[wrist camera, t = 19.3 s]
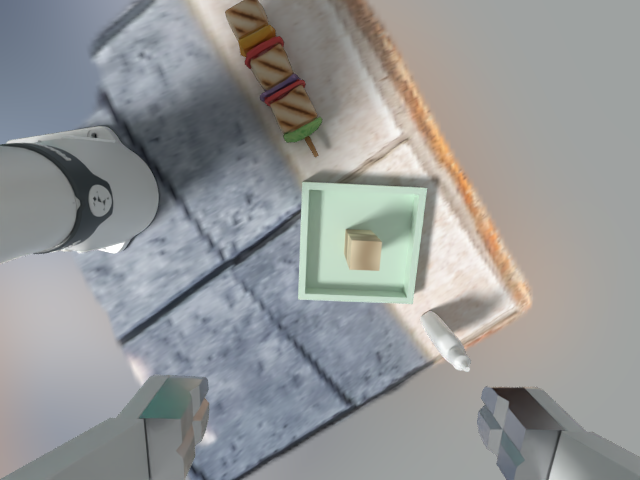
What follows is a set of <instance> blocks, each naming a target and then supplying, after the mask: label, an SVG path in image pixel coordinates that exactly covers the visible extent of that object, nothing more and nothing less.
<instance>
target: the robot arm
mask: <svg viewBox="0 0 640 480" xmlns="http://www.w3.org/2000/svg"><path fill="white" fill-rule="evenodd" d="M95 134H97V138H95ZM158 202H159V194H158V187H157V183H156V180H155V178H154V176H153V174H152V172H151V170H150V169H149V167H148V166H147V164H146V163H145V162H144V161H143V160H142V159H141V158H140V157H139V156H138V155H137V154H135V153H134V152H132V151H131V150H130V149H128V148H127V147H125V146H124V145H123V144H122V143H121V141H120V140H119V138H118V137H117V136H116V134H115V133H114V132H113V131H112V130H111V129H110V128H108V127H105V126H97V127H90V128H84V129H77V130H71V131H65V132H58V133H52V134H45V135H39V136H33V137H27V138H20V139H14V140H10V141H8V142H7V143H6V144H2V145H0V264H3V263H6V262H9V261H11V260H14V259H17V258H20V257H23V256H26V255H29V254H42V253H43V254H44V253H49V252H57V251H64V252H71V251H77V252H78V253H87V252H91V251H94V250H101V251H105V252H109V253H119V252H122V251H123V250H124V249H125V248H126V246H127V245H128V243H129V242H130V240H131V239H132V238H133V237H134V236H135V235H137V234H139V233H140V232H142V231H143V230H144V229H146V228H147V227H148V226H149V224H150V223H151V222H152V220H153V218H154V217H155V214H156V212H157V208H158ZM208 390H209V389H208V379H207V378H206V377H195V376H177V375H172V376H170V375H153V376H150V377H149V378H148V380H147V381H146V382H145V383H144V384H143V386H142V387H141V388H140V389H139V391H138V392H137V393H136V394H135V395H134V397H133V398H132V399H131V400H130V402H129V403H128V404H127V405H126V406H125V408H124V409H123V410H122V412H120V414H119V415H118V416H117V417H116V418H109V419H107V420H106V421H104V422H102V423H100V424H98V425H96V426H95V427H93V428H91V429H89V430H88V431H86V432H84V433H82V434H80V435H79V436H77V437H75V438H73V439H71V440H70V441H68V442H66V443H64V444H62V445H61V446H59V447H57V448H55V449H53V450H52V451H50V452H48V453H46V454H44V455H43V456H41V457H39V458H37V459H36V460H34V461H32V462H30V463H28V464H27V465H25V466H23V467H21V468H19V469H18V470H16V471H14V472H12V473H10V474H9V475H7V476H5V477H3V478H1V479H0V480H185V478H186V476H187V474H188V471H189V469H190V467H191V465H192V462H193V460H194V458H195V446H196V445H197V444H198V443H200V442H201V441H202V439H203V436H204V434H205V431H206V427H207V423H208V419H209V402H208V401H207V400H206V399H205V396H206V394H207V392H208ZM481 399H482V401H483V402H484V404H485V405H484V406H483V407H482V408H481V409H480V410H479V412H478V419H477V424H478V430H479V434H480V436H481V439H482V441H483V443H484V445H485V446H486V448H487V449H488V450H490V451H491V452H492V453H493V454H495V455H496V456H497V463H496V464H497V466H498V467H499V469H500V470H501V472H502V474H503V475H504V477H505V478H506V480H640V457H639V456H637V455H635V454H633V453H631V452H629V451H627V450H626V449H624V448H622V447H620V446H618V445H616V444H615V443H613V442H611V441H609V440H607V439H605V438H603V437H601V436H599V435H598V434H596V433H594V432H587V431H586V430H584V429H583V428H582V426H580V425H579V424H578V423H577V422H576V421H575V420H574V419H573V418H572V417H571V416H570V415H569V414H568V413H567V412H566V411H565V410H564V409H563V408H561V407H560V406H559V405H558V404H557V403H556V402H555V401H554V400H553V399H552V398H551V397H550V396H549V395H548V394H547V393H546V392H545V391H544V390H542V389H540V388H538V387H487V386H486V387H485V388H484V390H483V391H482V397H481Z"/></svg>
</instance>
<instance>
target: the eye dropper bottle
mask: <svg viewBox="0 0 640 480" xmlns="http://www.w3.org/2000/svg"><path fill="white" fill-rule="evenodd" d="M420 319H421V324H422V327H423V329H424V330H425V332H426V333H427V335H428V336H429V338H430V339H431V341H432V342H433V344H434V345H435V346H436V348H437V349H438V351H439V352H440V354H441V355H442V356H443V358H444V359H445V360H447V361H448V362H449V363H451V364H452V365H453V366H454V367H455V368H456V369H457V370H464V371H466V372H468V371H469V370H470V368H469V366H470V363H471V360H470V358H469V357H468V356H467V354H466V352H465V349H464V346H463V345H462V343H461V342H460V340H459V339H458V338H457V337H456V335H455V334H454V333H453V332H452V331H451V330H450V328H449V327H448V326H447V325H446V324H445V323H444V321H443V320H442V319H441V318H440V317H439V316H438V315H437V314H436V313H434V312H432V311H429V312H427V313H425V314H424V315H422V316H421V318H420Z"/></svg>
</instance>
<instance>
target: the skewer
mask: <svg viewBox="0 0 640 480" xmlns="http://www.w3.org/2000/svg"><path fill="white" fill-rule="evenodd" d="M225 14H226V18H227V20H228V22H229V25H230V27H231V29H232V31H233V33H234V35H235V36H236V38H237V40H238V42H239V47H240V53H241V55H242V56H244V57H246V60H245V65H246V66H247V67H248V68H249V69H252V71H253V73H254V75H255V77H256V78H257V80H258V81H259V83H260V85H261V86H262V87H263V89H264V90H265V92H264V93H262V94H261V95H260V100H261V101H263V102H265V104H267V106H270V107H271V108H272V111H273V113H274V116H275V118H276V120H277V123H278V125H279V128H280V130H281V131H282V133H283V134H284V135H283V137H284V139H285V141H286V142H297V141H300V140H302V139H305V141H306V143H307V144H308V146H309V148H310V149H311V151H312V153H313V155H314V156H315V157H317V156H319V155H318V153H317V151H316V149H315V147H314V145H313V143H312V141H311V139H310V137H309V135H311V134H312V133H313V132H314V131H316V130H317V129H318V128H319V126H320V124H321V123H322V118H321V117H319V118H317V116H318V115H317V113H316V111H315V109H314V107H313V105H312V103H311V101H310V99H309V97H308V95H307V93H306V91H305V89H304V87H305V85H306V84H305V81H304V80H301V78H300V79H299V77H298V76H297V75H296V74H294V73H293V70H292V67H291V65H290V62H289V60H288V58H287V55H286V52H285V50H284V49H283V45H284V42H283V40H282V38H281V37H280V36H278V37H276V33H275V29H274V28H273V27H272V26H271V25H269V23H268V19H267V15H266V13H265V11H264V9H263V7H262V5H261V4H260V3H259V1H258V0H243V1H242V2H240V3H238V4H236V5H235V6H233V7H231V8H230V9H228V10H226V12H225Z"/></svg>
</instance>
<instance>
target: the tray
mask: <svg viewBox="0 0 640 480" xmlns="http://www.w3.org/2000/svg"><path fill="white" fill-rule="evenodd" d="M426 194H427V188H423V187H408V186H387V185H366V184H346V183H325V182H305V181H303V182H302V206H301V235H300V264H299V293H298V299H299V300H325V301H350V302H376V303H401V304H413V298H414V290H415V282H416V274H417V266H418V258H419V250H420V242H421V234H422V226H423V218H424V210H425V202H426ZM346 229H356V230H371V231H372V232H373V233H374V234H375V235H376V236H377V237H378V238H379V239H380V240H381V241H382V248H381V259H380V269H379V271H370V270H349V267H348V264H347V261H346V258H345V255H344V246H345V231H346Z"/></svg>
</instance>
